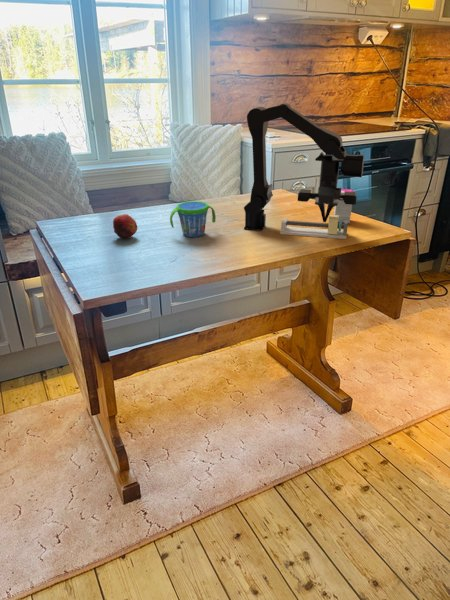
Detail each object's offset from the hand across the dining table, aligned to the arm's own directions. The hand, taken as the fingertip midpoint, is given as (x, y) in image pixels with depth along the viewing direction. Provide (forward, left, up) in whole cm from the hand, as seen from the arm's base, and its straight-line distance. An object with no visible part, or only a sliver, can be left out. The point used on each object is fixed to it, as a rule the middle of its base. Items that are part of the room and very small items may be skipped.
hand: (324, 221), depth 157 cm
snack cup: (-43, -10, -5) cm, 45 cm away
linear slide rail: (-3, 0, -4) cm, 6 cm away
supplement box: (+6, +16, -5) cm, 18 cm away
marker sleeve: (+3, 0, -3) cm, 4 cm away
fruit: (-64, -19, -5) cm, 67 cm away
